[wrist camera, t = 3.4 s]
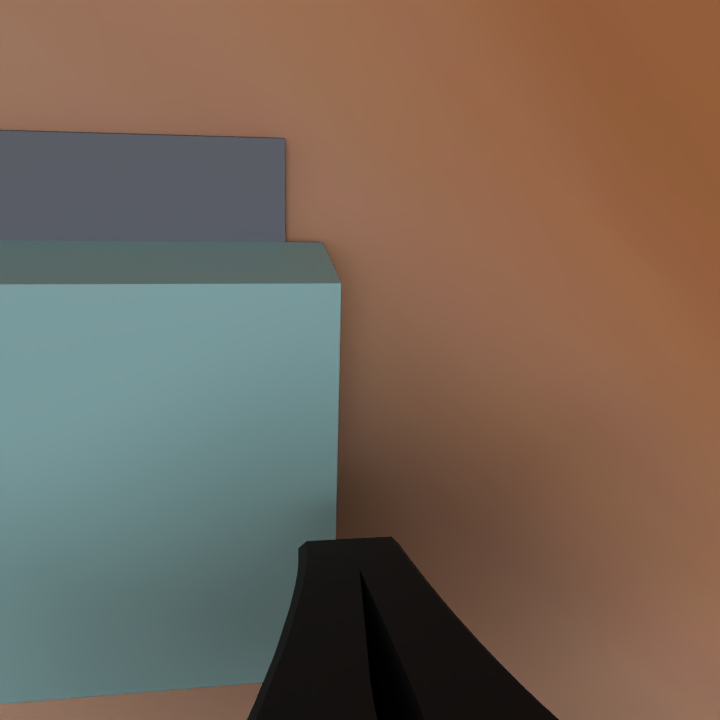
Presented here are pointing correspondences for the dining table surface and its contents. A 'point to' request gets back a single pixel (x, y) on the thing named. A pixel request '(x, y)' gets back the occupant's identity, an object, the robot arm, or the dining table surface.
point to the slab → (159, 458)
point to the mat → (140, 187)
